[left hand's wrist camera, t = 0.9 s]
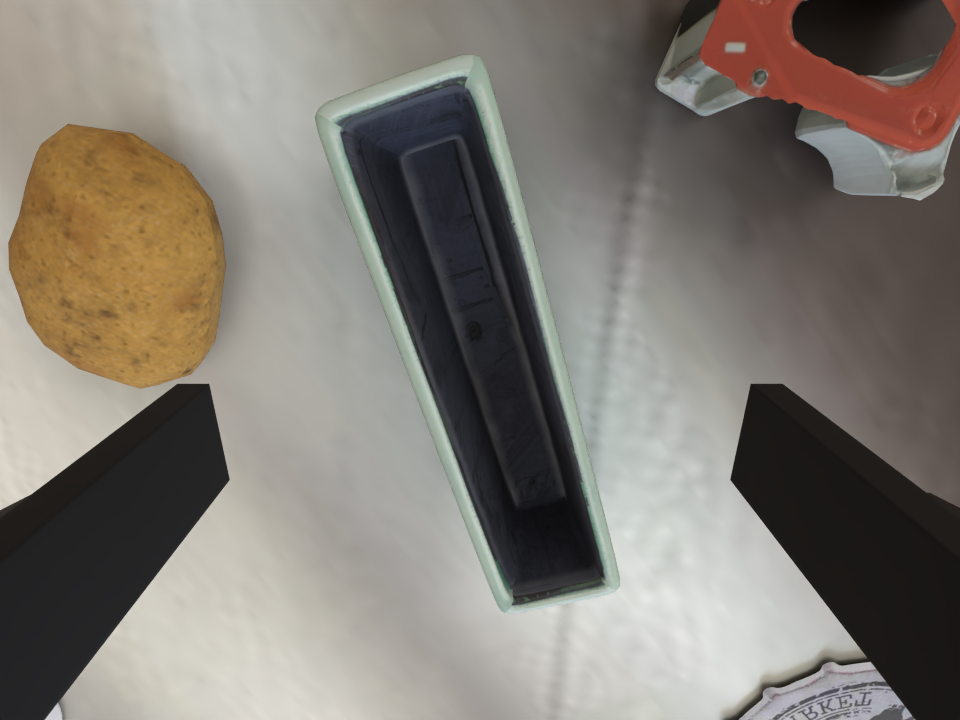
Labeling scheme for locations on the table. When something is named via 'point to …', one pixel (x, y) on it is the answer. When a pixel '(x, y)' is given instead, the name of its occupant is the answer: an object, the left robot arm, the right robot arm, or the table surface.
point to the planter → (474, 324)
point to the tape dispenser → (822, 93)
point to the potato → (118, 257)
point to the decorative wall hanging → (832, 697)
